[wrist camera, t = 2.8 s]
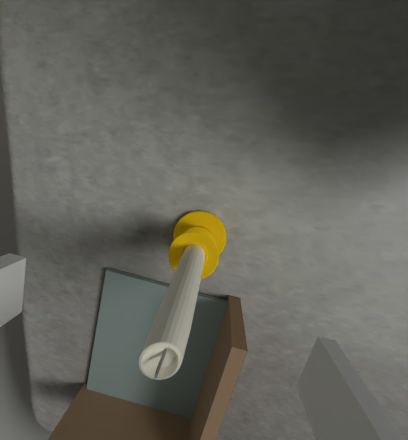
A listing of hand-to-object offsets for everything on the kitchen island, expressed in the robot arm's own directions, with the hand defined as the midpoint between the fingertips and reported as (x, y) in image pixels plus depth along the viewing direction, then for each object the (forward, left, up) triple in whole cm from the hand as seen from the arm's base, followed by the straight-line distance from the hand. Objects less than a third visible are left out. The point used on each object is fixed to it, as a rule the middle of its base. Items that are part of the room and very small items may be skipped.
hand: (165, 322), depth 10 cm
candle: (0, 0, -13) cm, 13 cm away
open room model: (+14, -2, -13) cm, 19 cm away
